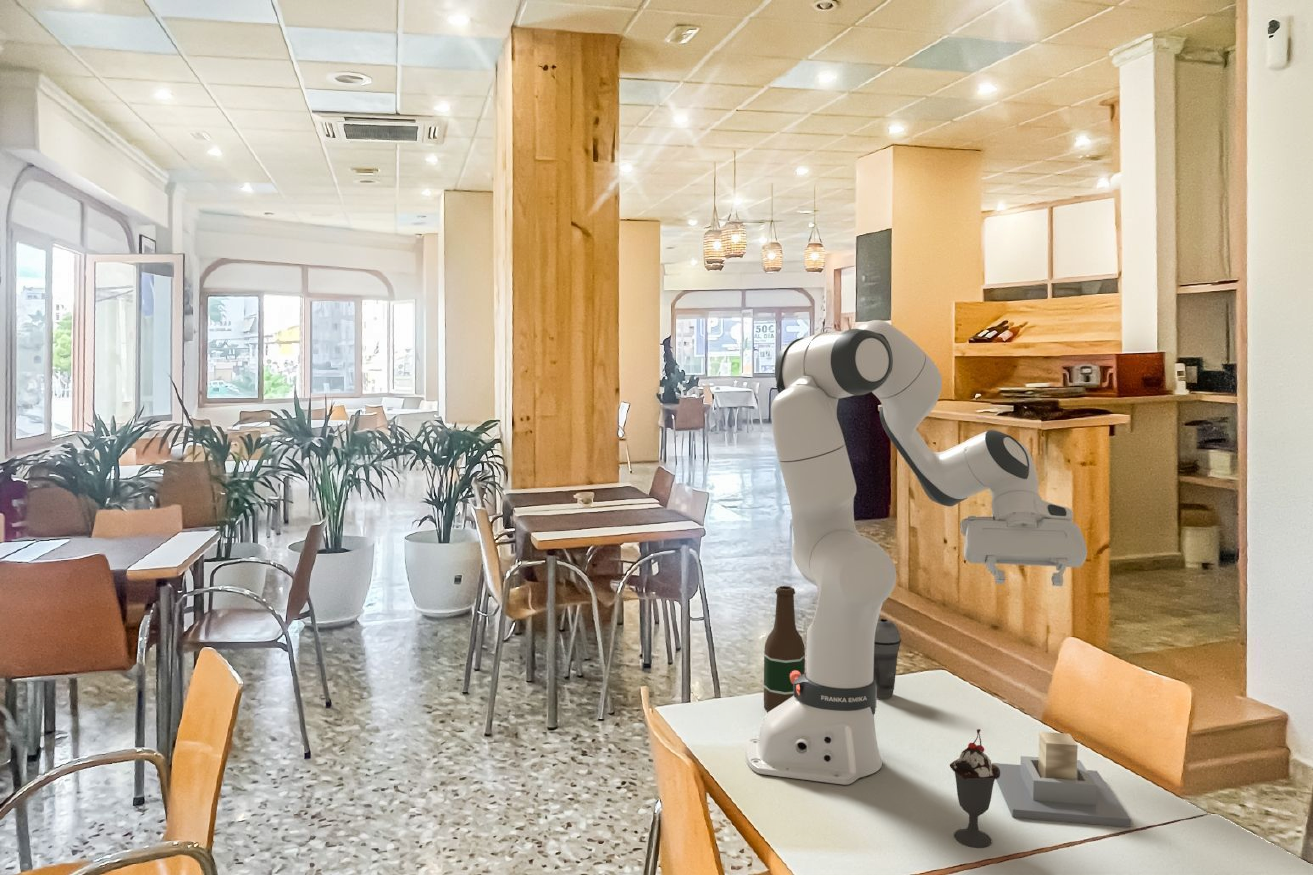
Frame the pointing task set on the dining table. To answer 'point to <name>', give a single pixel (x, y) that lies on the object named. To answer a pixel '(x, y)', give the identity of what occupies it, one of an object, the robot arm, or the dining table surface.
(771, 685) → the beer bottle
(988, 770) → the sundae
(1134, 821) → the dining table surface
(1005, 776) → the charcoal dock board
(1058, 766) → the wooden block
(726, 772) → the dining table surface
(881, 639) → the beverage cup
